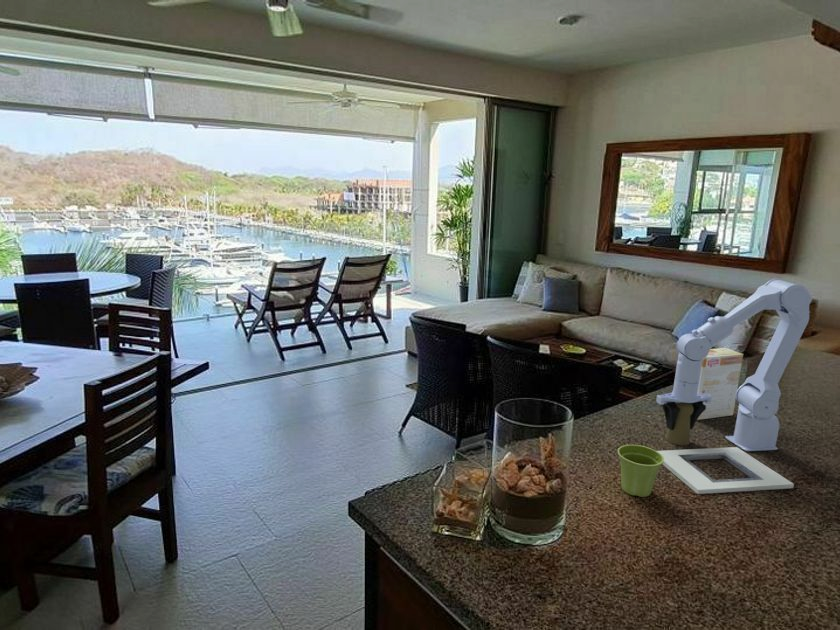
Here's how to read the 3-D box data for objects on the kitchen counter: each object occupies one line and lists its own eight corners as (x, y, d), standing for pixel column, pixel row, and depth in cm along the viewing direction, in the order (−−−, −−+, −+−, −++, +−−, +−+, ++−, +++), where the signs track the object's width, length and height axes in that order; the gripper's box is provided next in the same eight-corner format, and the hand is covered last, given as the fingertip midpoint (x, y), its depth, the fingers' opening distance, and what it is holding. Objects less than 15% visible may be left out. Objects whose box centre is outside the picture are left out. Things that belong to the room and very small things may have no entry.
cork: (692, 446, 141) (699, 407, 138) (668, 443, 142) (674, 404, 139) (686, 436, 147) (692, 398, 144) (662, 433, 148) (668, 396, 145)
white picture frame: (736, 450, 139) (736, 447, 139) (793, 488, 122) (793, 484, 122) (651, 454, 136) (651, 451, 135) (697, 494, 118) (698, 489, 118)
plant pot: (638, 506, 113) (643, 468, 111) (604, 484, 121) (608, 449, 119) (668, 496, 117) (673, 459, 115) (633, 475, 125) (638, 441, 123)
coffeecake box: (714, 406, 168) (724, 347, 164) (734, 415, 162) (745, 354, 157) (676, 411, 164) (685, 350, 159) (695, 421, 157) (705, 357, 153)
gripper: (701, 374, 145) (694, 420, 148) (652, 375, 143) (646, 422, 146) (719, 383, 139) (711, 431, 142) (668, 384, 136) (661, 434, 139)
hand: (679, 428), depth 144 cm, fingers closed on cork, 5 cm apart
